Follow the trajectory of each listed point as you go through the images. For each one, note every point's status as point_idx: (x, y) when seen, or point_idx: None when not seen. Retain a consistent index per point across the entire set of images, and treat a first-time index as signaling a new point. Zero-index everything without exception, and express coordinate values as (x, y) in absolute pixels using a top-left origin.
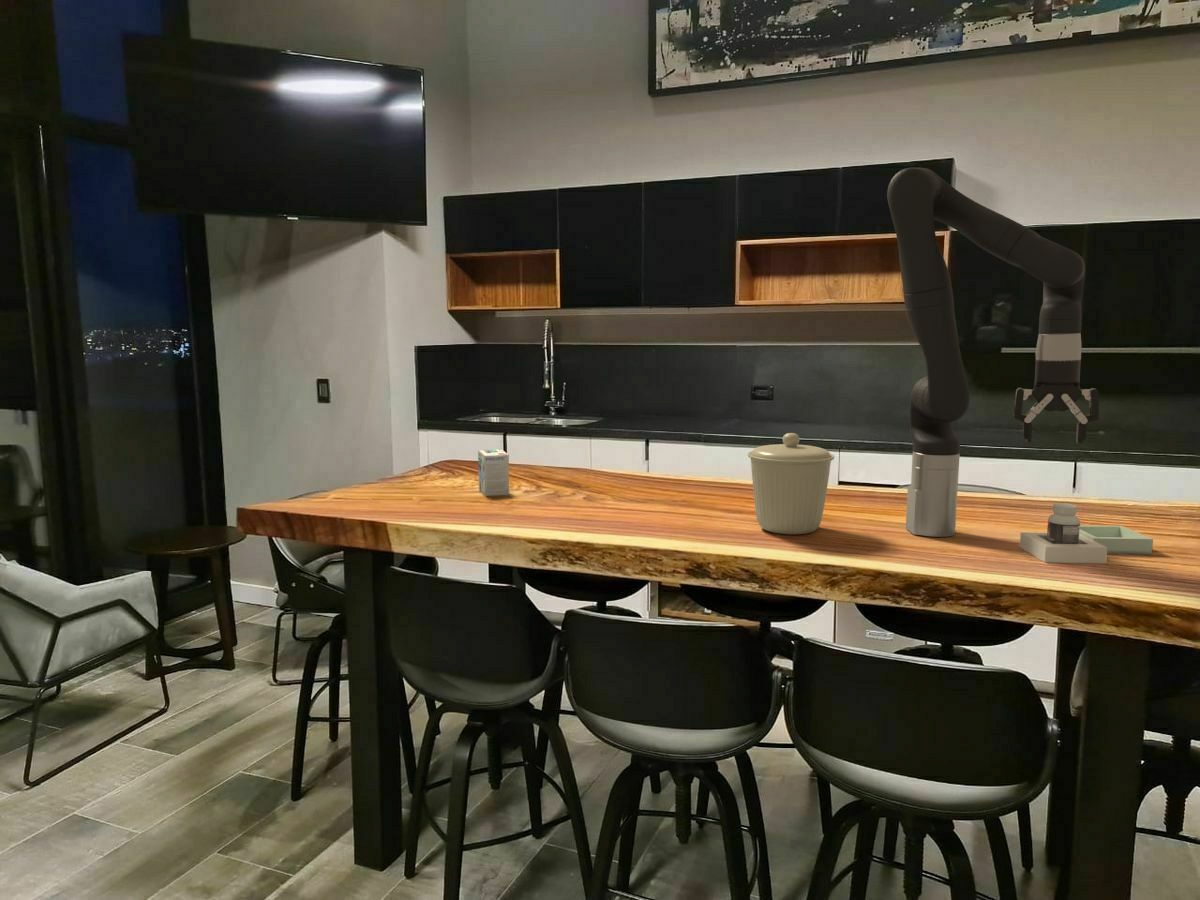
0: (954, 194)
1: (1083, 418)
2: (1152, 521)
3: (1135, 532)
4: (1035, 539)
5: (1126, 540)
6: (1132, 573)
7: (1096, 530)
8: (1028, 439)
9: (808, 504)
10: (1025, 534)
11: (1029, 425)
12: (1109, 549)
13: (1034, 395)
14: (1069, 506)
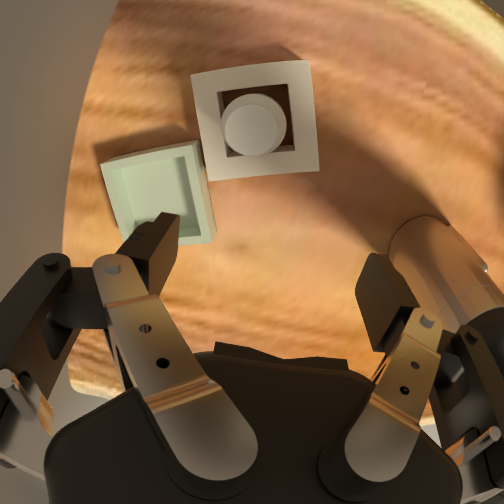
0: None
1: (109, 273)
2: (94, 333)
3: (115, 206)
4: (310, 115)
5: (138, 154)
6: (177, 25)
7: None
8: (385, 258)
9: None
10: (316, 154)
11: (408, 299)
12: (170, 145)
13: (451, 460)
14: (244, 116)
